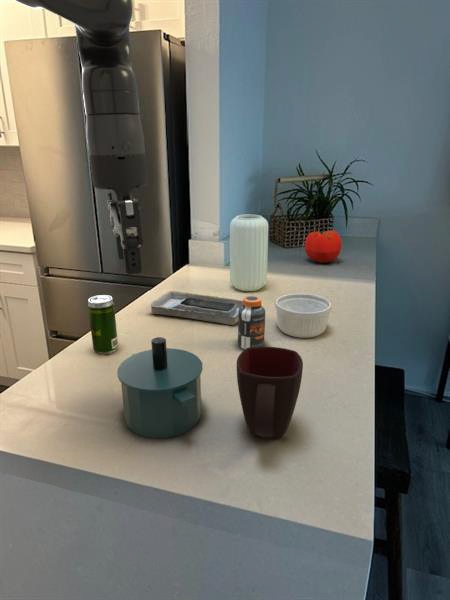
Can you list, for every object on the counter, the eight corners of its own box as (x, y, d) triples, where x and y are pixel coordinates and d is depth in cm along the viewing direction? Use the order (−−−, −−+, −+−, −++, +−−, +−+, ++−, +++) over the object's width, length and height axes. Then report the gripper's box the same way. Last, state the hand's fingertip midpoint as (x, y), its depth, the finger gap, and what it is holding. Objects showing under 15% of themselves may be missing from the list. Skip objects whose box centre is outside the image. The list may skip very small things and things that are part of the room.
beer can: (122, 345, 97) (117, 295, 93) (112, 356, 92) (107, 304, 88) (99, 343, 98) (93, 294, 94) (89, 354, 93) (82, 302, 89)
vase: (253, 296, 128) (254, 221, 120) (222, 288, 134) (222, 217, 126) (273, 286, 136) (275, 215, 129) (243, 279, 143) (244, 212, 135)
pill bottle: (251, 353, 93) (252, 305, 89) (232, 345, 97) (232, 297, 93) (269, 345, 97) (271, 298, 93) (250, 337, 101) (251, 291, 97)
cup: (299, 412, 73) (303, 348, 69) (297, 470, 60) (302, 396, 56) (241, 406, 74) (241, 344, 70) (227, 462, 62) (227, 389, 57)
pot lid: (139, 406, 61) (135, 370, 59) (105, 368, 72) (101, 335, 69) (218, 378, 68) (218, 344, 66) (177, 346, 79) (176, 317, 77)
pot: (152, 459, 62) (148, 409, 59) (108, 401, 76) (103, 358, 73) (224, 428, 69) (224, 381, 66) (171, 380, 83) (169, 340, 80)
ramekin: (322, 344, 97) (324, 316, 94) (266, 334, 102) (267, 307, 100) (334, 323, 108) (336, 297, 106) (283, 315, 113) (284, 290, 111)
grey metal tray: (170, 299, 126) (169, 289, 125) (252, 308, 118) (252, 298, 117) (148, 316, 114) (147, 305, 113) (237, 327, 106) (237, 316, 105)
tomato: (333, 256, 171) (335, 226, 167) (344, 266, 158) (347, 234, 153) (300, 257, 170) (301, 227, 166) (308, 266, 157) (310, 235, 153)
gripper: (85, 151, 64) (99, 257, 70) (92, 153, 51) (108, 282, 57) (136, 149, 66) (145, 252, 72) (154, 151, 54) (164, 275, 59)
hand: (129, 265), depth 65 cm, fingers open, 8 cm apart
